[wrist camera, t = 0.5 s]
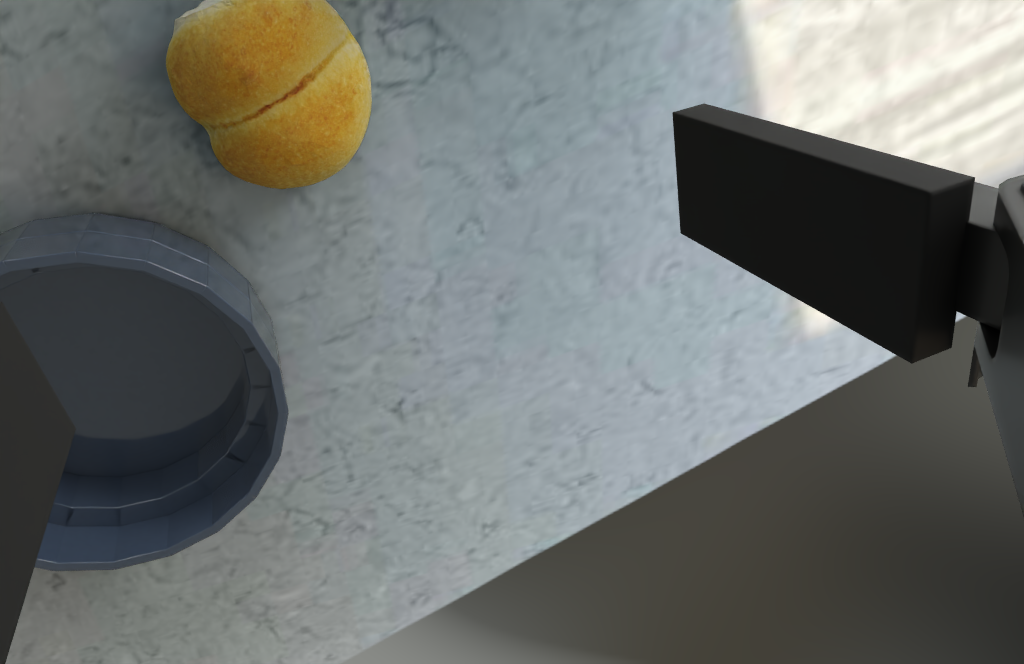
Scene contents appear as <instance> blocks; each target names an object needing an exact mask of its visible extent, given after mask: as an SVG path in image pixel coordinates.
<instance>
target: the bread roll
mask: <svg viewBox="0 0 1024 664" xmlns="http://www.w3.org/2000/svg"><path fill="white" fill-rule="evenodd" d="M166 68H167V72H168V76H169V80H170V83H171V87H172V90H173V92H174V95H175V97H176V99H177V101H178V102H179V103H180V105H181V106H182V108H183V109H184V111H185V112H186V113H187V114H188V115H189V116H190V117H191V118H193V119H194V120H195V121H197V122H198V123H199V124H201V125H202V126H203V127H204V128H205V129H206V131H207V133H208V134H209V136H210V141H211V146H212V149H213V151H214V153H215V156H216V157H217V159H218V161H219V162H220V163H221V164H222V166H223V167H224V168H225V169H226V170H227V171H229V172H230V173H231V174H232V175H234V176H236V177H238V178H240V179H242V180H244V181H246V182H250V183H253V184H256V185H260V186H265V187H270V188H277V189H286V188H295V187H302V186H308V185H312V184H315V183H318V182H320V181H323V180H325V179H327V178H329V177H331V176H332V175H334V174H336V173H337V172H339V171H340V170H341V169H343V168H344V167H345V166H346V165H347V164H348V162H349V161H350V160H351V159H352V157H353V156H354V154H355V153H356V151H357V150H358V148H359V146H360V145H361V142H362V139H363V138H364V135H365V133H366V129H367V126H368V122H369V118H370V113H371V103H372V101H371V78H370V73H369V69H368V65H367V62H366V60H365V57H364V55H363V52H362V50H361V48H360V46H359V44H358V42H357V41H356V39H355V38H354V37H353V35H352V34H351V32H350V31H349V29H348V27H347V26H346V24H345V23H344V21H343V20H342V19H341V18H340V16H339V15H338V13H337V12H336V11H335V9H334V8H333V7H332V6H331V5H330V4H329V3H328V2H327V1H326V0H205V1H203V2H202V3H200V4H199V6H198V7H197V8H195V9H193V10H190V11H187V12H185V13H184V14H183V15H182V16H181V17H179V18H177V19H176V20H175V21H174V32H173V36H172V39H171V41H170V44H169V47H168V51H167V56H166Z"/></svg>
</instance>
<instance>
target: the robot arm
mask: <svg viewBox="0 0 1024 664" xmlns="http://www.w3.org/2000/svg"><path fill="white" fill-rule="evenodd" d="M673 126H674V141H675V156H676V171H677V186H678V201H679V215H680V230H681V234H683V235H685V236H687V237H688V238H690V239H692V240H694V241H696V242H697V243H699V244H701V245H703V246H704V247H706V248H708V249H710V250H711V251H713V252H715V253H717V254H719V255H720V256H722V257H724V258H726V259H727V260H729V261H731V262H733V263H735V264H736V265H738V266H740V267H742V268H743V269H745V270H747V271H749V272H750V273H752V274H754V275H756V276H758V277H759V278H761V279H763V280H765V281H766V282H768V283H770V284H772V285H773V286H775V287H777V288H779V289H781V290H782V291H784V292H786V293H788V294H789V295H791V296H793V297H795V298H797V299H798V300H800V301H802V302H804V303H805V304H807V305H809V306H811V307H812V308H814V309H816V310H818V311H820V312H821V313H823V314H825V315H827V316H828V317H830V318H832V319H834V320H835V321H837V322H839V323H841V324H843V325H844V326H846V327H848V328H850V329H851V330H853V331H855V332H857V333H859V334H860V335H862V336H864V337H866V338H867V339H869V340H871V341H873V342H874V343H876V344H878V345H880V346H882V347H883V348H885V349H887V350H889V351H890V352H892V353H894V354H896V355H898V356H899V357H901V358H903V359H905V360H907V361H908V362H910V363H914V362H917V361H919V360H921V359H924V358H927V357H929V356H932V355H934V354H937V353H939V352H942V351H944V350H947V349H949V348H951V347H952V340H953V333H954V326H955V319H956V312H960V313H962V314H964V315H966V316H968V317H971V318H973V319H975V320H977V321H978V325H977V331H976V337H975V344H974V350H973V357H972V363H971V369H970V376H969V382H968V387H976V386H977V381H978V379H979V378H980V377H982V376H983V377H984V380H985V384H986V387H987V391H988V394H989V397H990V401H991V405H992V408H993V412H994V415H995V419H996V422H997V426H998V429H999V432H1000V436H1001V439H1002V443H1003V446H1004V450H1005V453H1006V457H1007V460H1008V463H1009V467H1010V470H1011V474H1012V478H1013V481H1014V484H1015V488H1016V491H1017V495H1018V498H1019V502H1020V505H1021V509H1022V512H1023V516H1024V175H1022V176H1018V177H1014V178H1010V179H1007V180H1006V181H1004V182H1003V183H1001V184H1000V185H999V189H998V188H994V187H991V186H987V185H984V184H980V183H976V182H974V181H975V177H971V176H967V175H964V174H960V173H956V172H953V171H949V170H945V169H942V168H938V167H934V166H931V165H927V164H923V163H920V162H916V161H912V160H909V159H905V158H901V157H898V156H894V155H890V154H887V153H883V152H879V151H876V150H872V149H868V148H865V147H861V146H857V145H854V144H850V143H846V142H843V141H839V140H836V139H832V138H828V137H825V136H821V135H817V134H814V133H810V132H806V131H803V130H799V129H795V128H792V127H788V126H784V125H781V124H777V123H773V122H770V121H766V120H762V119H759V118H755V117H751V116H748V115H744V114H740V113H737V112H733V111H729V110H726V109H722V108H718V107H715V106H711V105H707V104H701V105H698V106H694V107H690V108H687V109H683V110H680V111H676V112H673ZM75 430H76V428H75V426H74V424H73V423H72V421H71V419H70V417H69V416H68V414H67V412H66V411H65V409H64V407H63V405H62V404H61V402H60V400H59V399H58V397H57V395H56V393H55V392H54V390H53V388H52V386H51V385H50V383H49V381H48V380H47V378H46V376H45V374H44V373H43V371H42V369H41V368H40V366H39V364H38V362H37V361H36V359H35V357H34V356H33V354H32V352H31V350H30V349H29V347H28V345H27V344H26V342H25V340H24V338H23V337H22V335H21V333H20V331H19V330H18V328H17V326H16V325H15V323H14V321H13V319H12V318H11V316H10V314H9V313H8V311H7V309H6V307H5V306H4V304H3V302H0V664H5V662H6V659H7V656H8V652H9V649H10V646H11V642H12V639H13V636H14V633H15V629H16V626H17V623H18V619H19V616H20V613H21V609H22V606H23V603H24V599H25V596H26V593H27V589H28V586H29V583H30V579H31V576H32V573H33V569H34V566H35V563H36V560H37V556H38V553H39V550H40V546H41V543H42V540H43V536H44V533H45V530H46V526H47V523H48V520H49V516H50V513H51V510H52V506H53V503H54V500H55V497H56V493H57V490H58V487H59V483H60V480H61V477H62V473H63V470H64V467H65V463H66V460H67V457H68V453H69V450H70V447H71V443H72V440H73V437H74V433H75Z"/></svg>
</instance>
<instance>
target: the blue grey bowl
mask: <svg viewBox="0 0 1024 664" xmlns="http://www.w3.org/2000/svg"><path fill="white" fill-rule="evenodd" d="M0 302H3V304H4V306H5V307H6V309H7V311H8V313H9V314H10V316H11V318H12V319H13V321H14V323H15V325H16V326H17V328H18V330H19V331H20V333H21V335H22V337H23V338H24V340H25V342H26V344H27V345H28V347H29V349H30V350H31V352H32V354H33V356H34V357H35V359H36V361H37V362H38V364H39V366H40V368H41V369H42V371H43V373H44V374H45V376H46V378H47V380H48V381H49V383H50V385H51V386H52V388H53V390H54V392H55V393H56V395H57V397H58V399H59V400H60V402H61V404H62V405H63V407H64V409H65V411H66V412H67V414H68V416H69V417H70V419H71V421H72V423H73V424H74V426H75V428H76V430H75V433H74V437H73V440H72V443H71V447H70V450H69V453H68V457H67V460H66V463H65V467H64V470H63V473H62V477H61V480H60V483H59V487H58V490H57V493H56V497H55V500H54V503H53V506H52V510H51V513H50V516H49V520H48V523H47V526H46V530H45V533H44V536H43V540H42V543H41V546H40V550H39V553H38V556H37V560H36V563H35V566H34V567H36V568H41V569H46V570H51V571H82V570H114V569H120V568H124V567H128V566H132V565H136V564H140V563H144V562H148V561H152V560H156V559H160V558H164V557H168V556H170V555H174V554H175V553H177V552H179V551H181V550H183V549H185V548H187V547H189V546H191V545H193V544H195V543H197V542H199V541H201V540H203V539H205V538H207V537H209V536H211V535H213V534H215V533H217V532H218V531H220V530H221V529H222V528H223V527H224V526H225V525H226V524H227V523H229V522H230V521H231V520H232V519H233V518H234V517H235V516H236V515H237V514H239V513H240V512H241V511H242V510H243V509H244V508H245V507H246V506H247V505H249V504H250V503H251V502H252V501H253V500H254V499H255V498H256V497H257V495H258V494H259V492H260V490H261V489H262V487H263V485H264V484H265V482H266V480H267V479H268V477H269V475H270V473H271V472H272V470H273V468H274V467H275V465H276V463H277V462H278V460H279V458H280V456H281V450H282V445H283V440H284V434H285V429H286V424H287V418H288V406H287V400H286V394H285V388H284V382H283V376H282V370H281V365H280V359H279V354H278V348H277V343H276V338H275V333H274V328H273V323H272V320H271V317H270V316H269V314H268V312H267V311H266V309H265V308H264V306H263V304H262V303H261V301H260V299H259V298H258V296H257V294H256V293H255V291H254V289H253V288H252V286H251V284H250V283H249V281H248V280H247V279H246V278H245V277H244V276H243V275H241V274H240V273H239V272H238V271H237V270H236V269H234V268H233V267H232V266H231V265H230V264H229V263H227V262H226V261H225V260H224V259H223V258H222V257H220V256H219V255H218V254H217V253H216V252H215V251H213V250H212V249H211V248H210V247H208V246H207V245H205V244H203V243H201V242H199V241H196V240H194V239H192V238H190V237H187V236H185V235H183V234H181V233H178V232H176V231H174V230H172V229H170V228H167V227H165V226H163V225H161V224H158V223H155V222H150V221H144V220H137V219H131V218H124V217H118V216H111V215H105V214H98V213H95V214H94V213H89V214H80V215H72V216H63V217H55V218H46V219H37V220H33V221H29V222H27V223H24V224H22V225H20V226H18V227H15V228H13V229H11V230H8V231H6V232H4V233H1V234H0Z"/></svg>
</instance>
